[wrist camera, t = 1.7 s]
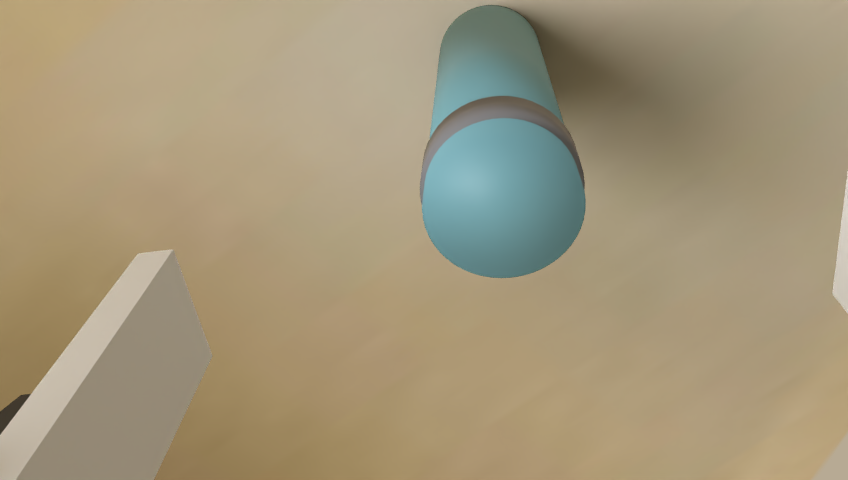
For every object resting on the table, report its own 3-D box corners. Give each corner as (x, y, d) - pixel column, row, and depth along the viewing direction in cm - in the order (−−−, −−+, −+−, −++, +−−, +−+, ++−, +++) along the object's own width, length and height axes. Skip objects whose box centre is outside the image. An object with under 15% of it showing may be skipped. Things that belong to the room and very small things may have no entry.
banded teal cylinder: (538, -6, 26) (585, 117, 15) (546, 99, 28) (594, 272, 17) (429, 11, 26) (404, 141, 16) (444, 112, 28) (431, 289, 18)
